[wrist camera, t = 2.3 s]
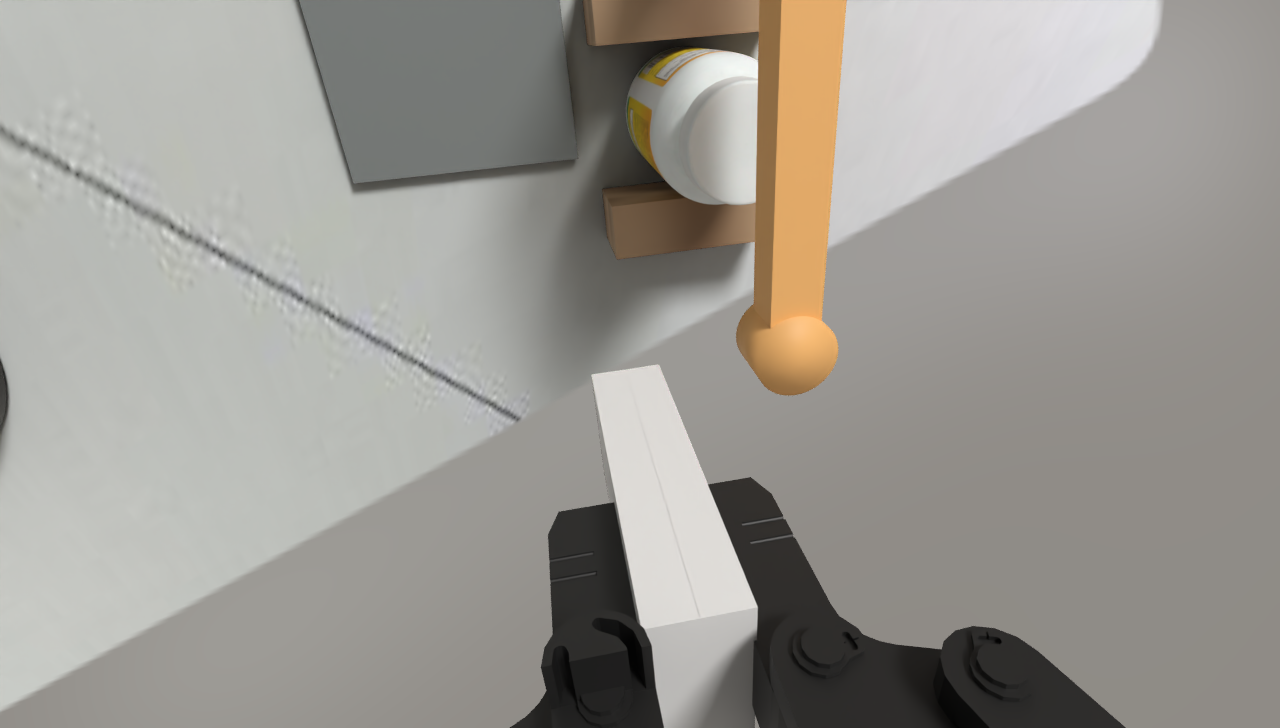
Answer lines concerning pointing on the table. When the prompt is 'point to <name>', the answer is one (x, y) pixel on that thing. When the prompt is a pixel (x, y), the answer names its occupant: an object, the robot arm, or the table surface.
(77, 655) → the table surface
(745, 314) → the grey orange l-shaped piece
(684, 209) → the wooden block set
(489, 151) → the mat
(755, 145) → the supplement bottle
